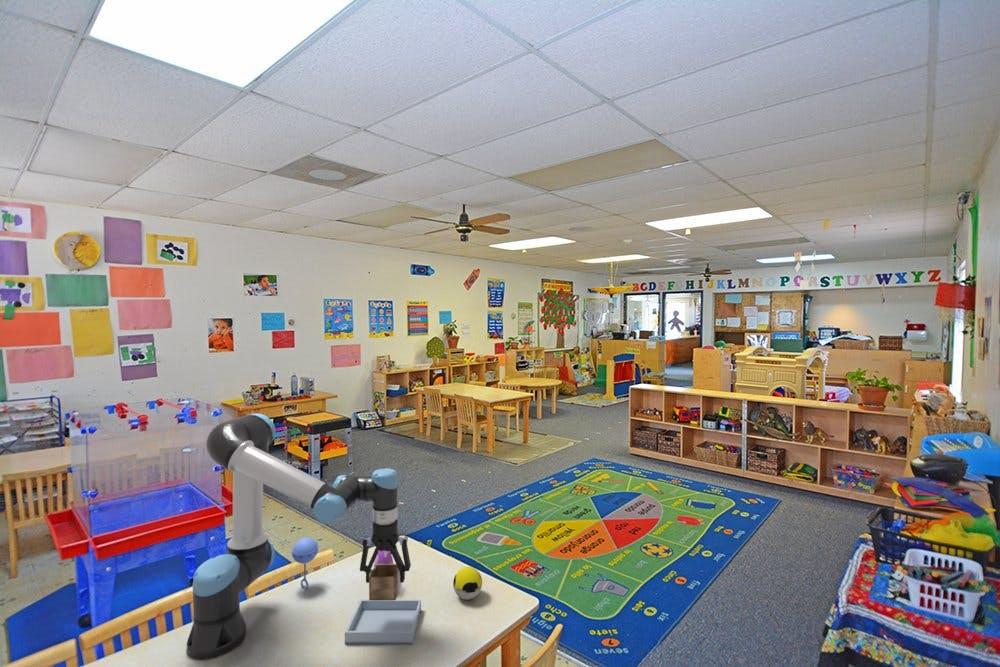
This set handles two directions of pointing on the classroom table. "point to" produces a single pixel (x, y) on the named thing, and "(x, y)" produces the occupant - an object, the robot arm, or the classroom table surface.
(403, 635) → the big tray
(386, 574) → the small crate
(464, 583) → the toy
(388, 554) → the toy
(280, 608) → the classroom table surface
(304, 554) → the baby rattle
